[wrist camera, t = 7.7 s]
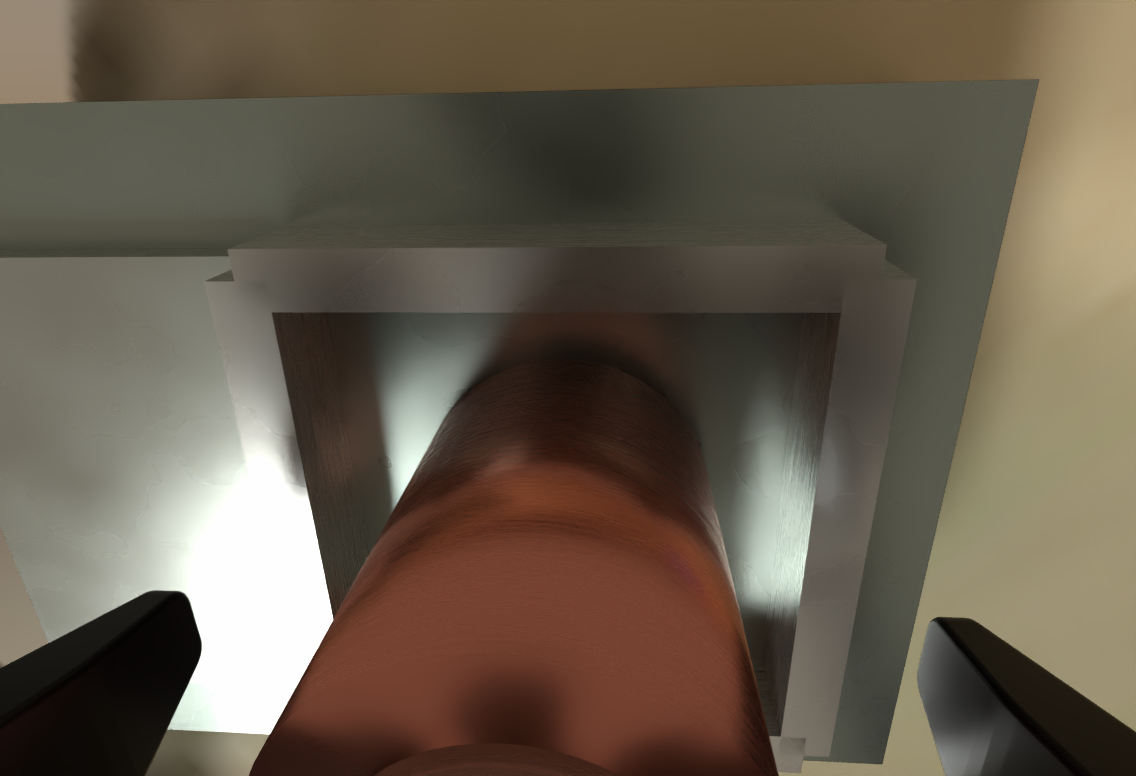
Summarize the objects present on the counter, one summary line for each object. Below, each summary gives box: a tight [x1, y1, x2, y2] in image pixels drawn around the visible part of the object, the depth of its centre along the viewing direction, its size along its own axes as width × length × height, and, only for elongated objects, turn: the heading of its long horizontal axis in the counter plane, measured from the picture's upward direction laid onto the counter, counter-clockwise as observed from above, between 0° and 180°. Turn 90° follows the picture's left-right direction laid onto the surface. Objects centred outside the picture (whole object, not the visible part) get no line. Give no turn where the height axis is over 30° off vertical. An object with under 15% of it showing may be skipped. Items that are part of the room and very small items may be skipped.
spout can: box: [249, 359, 779, 776], centre depth 8 cm, size 5×5×8 cm
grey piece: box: [0, 79, 1039, 773], centre depth 12 cm, size 19×12×6 cm, turn 91°
